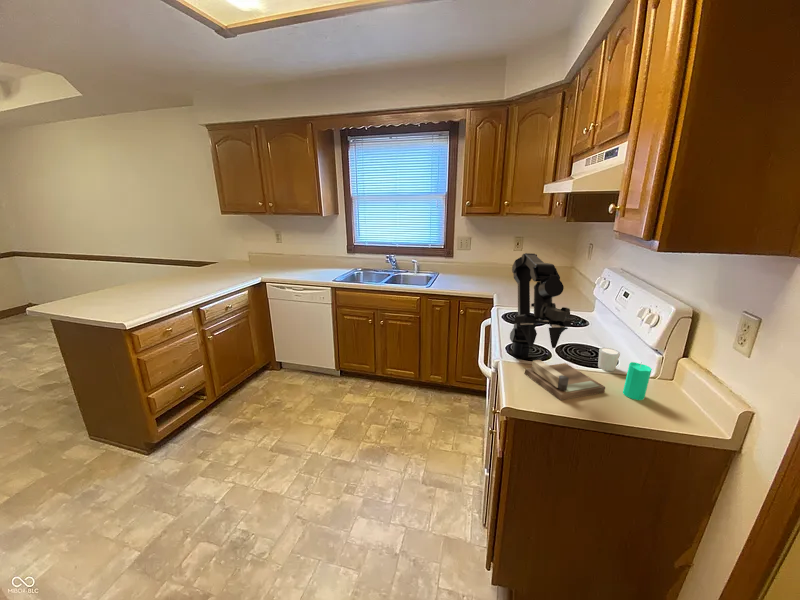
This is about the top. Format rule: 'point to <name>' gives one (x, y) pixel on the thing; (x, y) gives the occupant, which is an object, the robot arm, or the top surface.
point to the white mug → (608, 359)
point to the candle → (637, 381)
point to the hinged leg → (550, 374)
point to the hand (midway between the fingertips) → (542, 347)
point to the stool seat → (576, 383)
